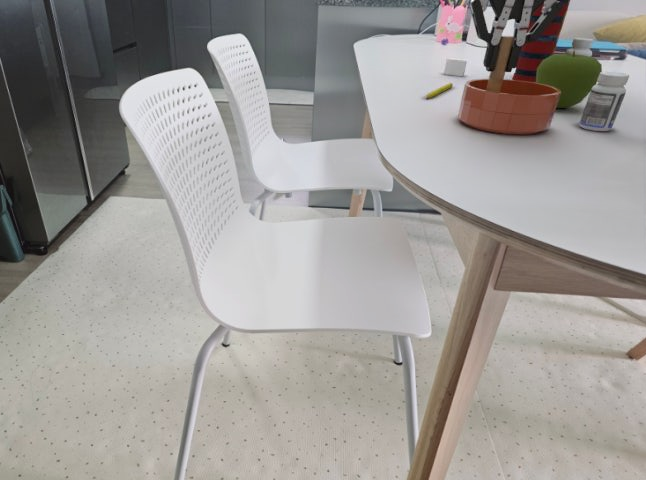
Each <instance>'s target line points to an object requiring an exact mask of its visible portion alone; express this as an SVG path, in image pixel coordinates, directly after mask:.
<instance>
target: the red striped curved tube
mask: <svg viewBox="0 0 646 480" xmlns="http://www.w3.org/2000/svg"><path fill="white" fill-rule="evenodd" d="M557 1H560V2H563V3H564V7H563V9H562V10H561V11H560V12H559V14H558V15H557V16H556V17H555V19H554V20H553V21H552V22H551V24H550V25H549V26H548V27H547V29H546V30H545V31H544V32H543V34H542V35H541V36H540V37H539V38H538V40H537V41H536V42H530V43H527V44H525V45H523V47H522V49H521V53H520V56H519V60H518V64H517V66H516V67H515V68H514V69H515V70H514V71H515V72H514V73H513V75H512V79H511V80H521V81H529V82H536V75H537V68H538V67H539V65H540V64H541V62H542V61H543V60H544V59H546V58H548V57H549V56H551V55H555V51H556V49H557V45H558V42H559V37H560V34H561V31H562V30H563V27H564V23H565V20H566V17H567V13H568V10H569V7H570V2H571V0H557ZM543 6H544V3H543V4H542V5H541V6H540V7H539V8H538V9H537V10H536V11H535V12H534V13H533V14H532V15H531V16H530V22H529V27H528V29H527V33H528V32H529V30H530V29H531V28H532V27H533V25H534V24H535V23H536V21H537V20H538V19H539V18H540V16H541V15H542V14H543V13H542V8H543Z"/></svg>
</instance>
